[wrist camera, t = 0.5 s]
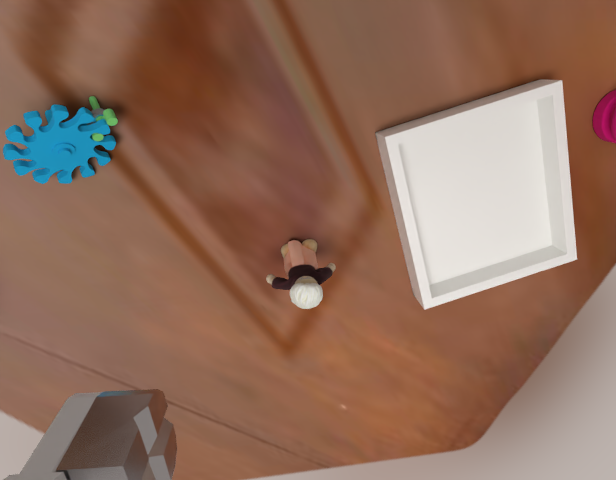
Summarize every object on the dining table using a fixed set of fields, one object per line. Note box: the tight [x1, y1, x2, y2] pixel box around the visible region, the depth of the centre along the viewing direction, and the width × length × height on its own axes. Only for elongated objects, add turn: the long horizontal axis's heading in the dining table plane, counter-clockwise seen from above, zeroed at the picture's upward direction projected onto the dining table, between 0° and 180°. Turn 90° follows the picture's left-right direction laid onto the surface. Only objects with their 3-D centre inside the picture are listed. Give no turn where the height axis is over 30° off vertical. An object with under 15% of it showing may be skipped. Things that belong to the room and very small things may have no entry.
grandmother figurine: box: [266, 239, 336, 309], centre depth 51 cm, size 8×4×13 cm, turn 109°
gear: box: [3, 96, 118, 184], centre depth 47 cm, size 11×6×10 cm
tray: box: [375, 79, 577, 310], centre depth 56 cm, size 22×20×4 cm
